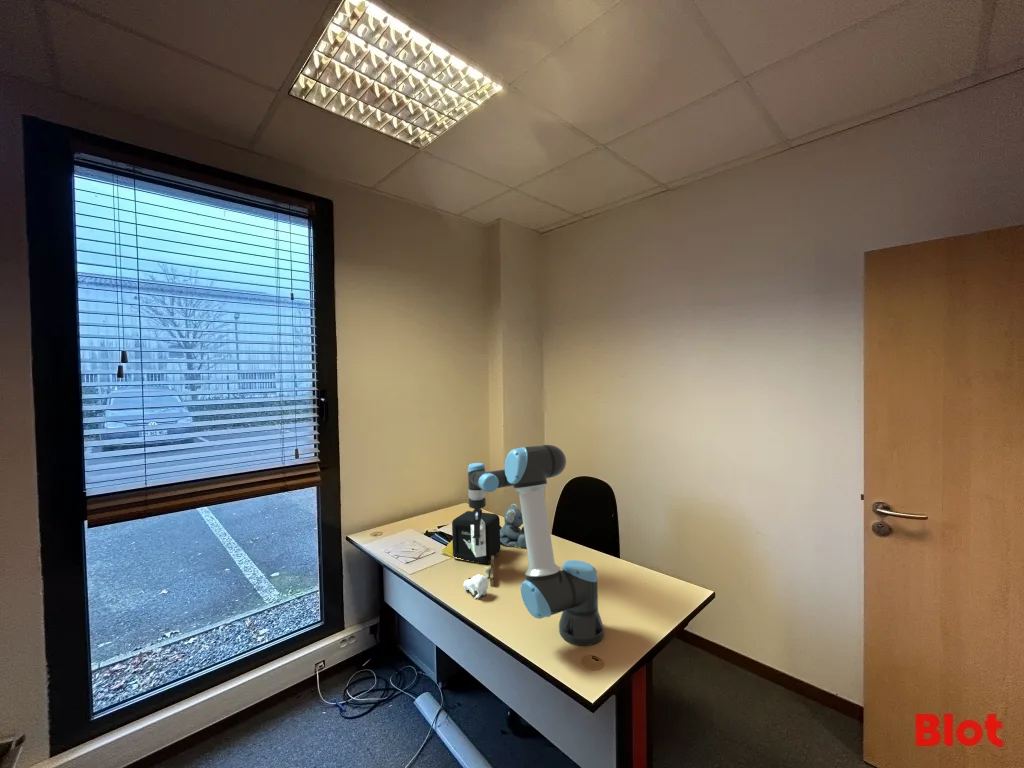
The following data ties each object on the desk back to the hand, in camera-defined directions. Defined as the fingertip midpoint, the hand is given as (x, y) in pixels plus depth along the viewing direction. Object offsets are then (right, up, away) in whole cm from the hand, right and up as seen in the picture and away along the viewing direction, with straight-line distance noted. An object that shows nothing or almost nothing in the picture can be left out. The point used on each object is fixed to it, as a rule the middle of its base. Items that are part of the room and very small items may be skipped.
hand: (478, 547), depth 183 cm
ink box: (0, -3, 0) cm, 3 cm away
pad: (0, -12, 0) cm, 12 cm away
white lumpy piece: (0, -12, -17) cm, 21 cm away
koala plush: (+16, -12, +35) cm, 41 cm away
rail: (+6, -12, -1) cm, 14 cm away
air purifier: (-3, -12, +18) cm, 22 cm away
